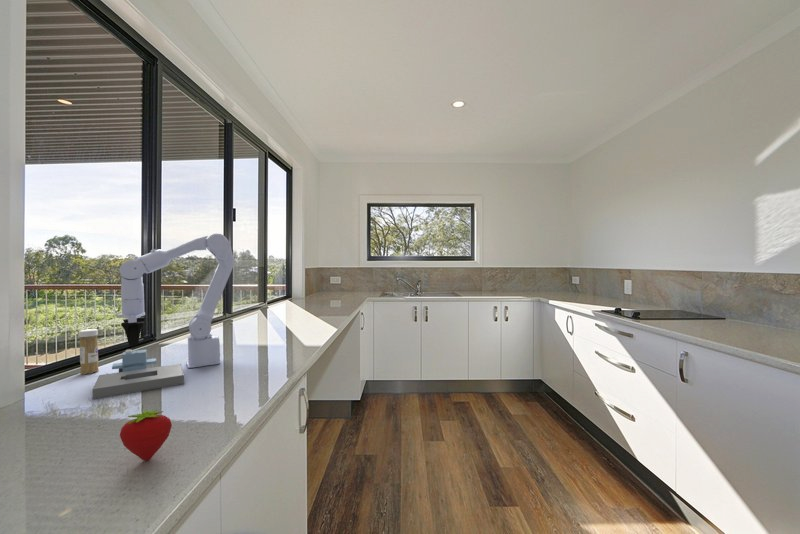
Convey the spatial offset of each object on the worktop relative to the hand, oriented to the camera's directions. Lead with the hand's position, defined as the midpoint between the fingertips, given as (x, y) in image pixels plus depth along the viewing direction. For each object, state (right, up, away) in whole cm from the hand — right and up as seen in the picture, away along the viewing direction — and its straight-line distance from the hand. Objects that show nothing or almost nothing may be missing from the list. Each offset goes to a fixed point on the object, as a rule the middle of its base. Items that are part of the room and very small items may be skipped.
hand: (134, 342), depth 116 cm
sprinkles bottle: (-15, -10, +1) cm, 18 cm away
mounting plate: (+9, -10, -10) cm, 17 cm away
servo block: (0, -9, 0) cm, 9 cm away
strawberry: (+39, -10, -51) cm, 65 cm away
